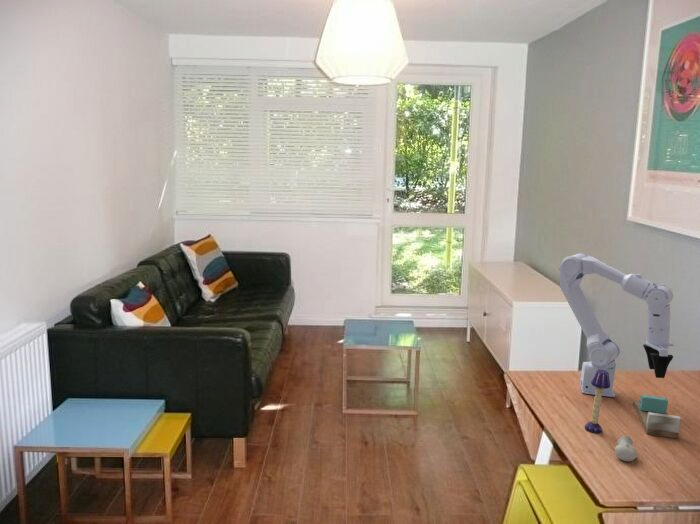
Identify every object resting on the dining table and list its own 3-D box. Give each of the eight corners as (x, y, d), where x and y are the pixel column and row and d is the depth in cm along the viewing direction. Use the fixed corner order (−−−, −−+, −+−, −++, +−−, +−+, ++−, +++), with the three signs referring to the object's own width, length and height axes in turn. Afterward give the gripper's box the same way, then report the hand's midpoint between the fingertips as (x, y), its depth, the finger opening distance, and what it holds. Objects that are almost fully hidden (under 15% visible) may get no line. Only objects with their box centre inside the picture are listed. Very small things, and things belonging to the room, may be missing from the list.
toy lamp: (589, 423, 160) (597, 366, 156) (606, 429, 156) (614, 371, 153) (582, 429, 156) (589, 370, 153) (599, 435, 153) (607, 375, 150)
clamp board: (646, 433, 155) (649, 414, 154) (632, 404, 173) (635, 387, 172) (677, 438, 153) (680, 419, 152) (660, 408, 171) (663, 390, 170)
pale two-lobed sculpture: (631, 470, 139) (610, 458, 141) (634, 454, 146) (614, 443, 148) (640, 456, 138) (618, 444, 140) (642, 441, 145) (622, 430, 147)
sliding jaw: (640, 410, 165) (642, 397, 164) (639, 407, 167) (641, 394, 166) (666, 413, 163) (668, 400, 162) (664, 411, 165) (666, 397, 164)
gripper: (680, 334, 160) (678, 382, 162) (667, 322, 174) (665, 366, 176) (652, 333, 162) (650, 380, 164) (641, 321, 176) (639, 364, 178)
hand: (656, 373), depth 170 cm, fingers open, 7 cm apart
